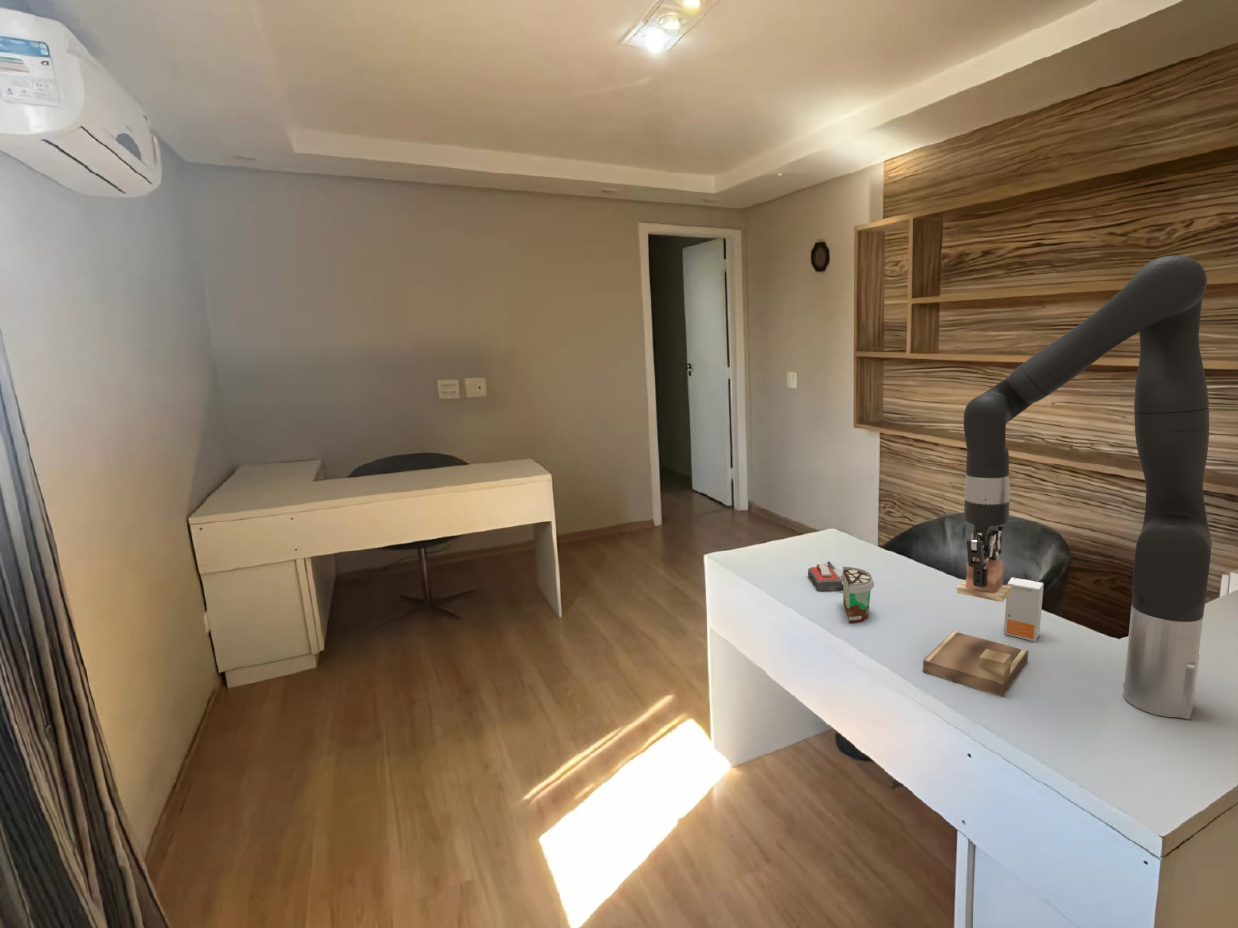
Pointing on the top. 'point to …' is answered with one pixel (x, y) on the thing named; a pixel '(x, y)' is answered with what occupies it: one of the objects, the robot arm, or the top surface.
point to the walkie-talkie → (826, 578)
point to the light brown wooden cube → (994, 665)
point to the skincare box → (1023, 609)
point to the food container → (856, 593)
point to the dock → (971, 662)
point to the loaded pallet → (986, 595)
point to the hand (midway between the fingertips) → (984, 581)
